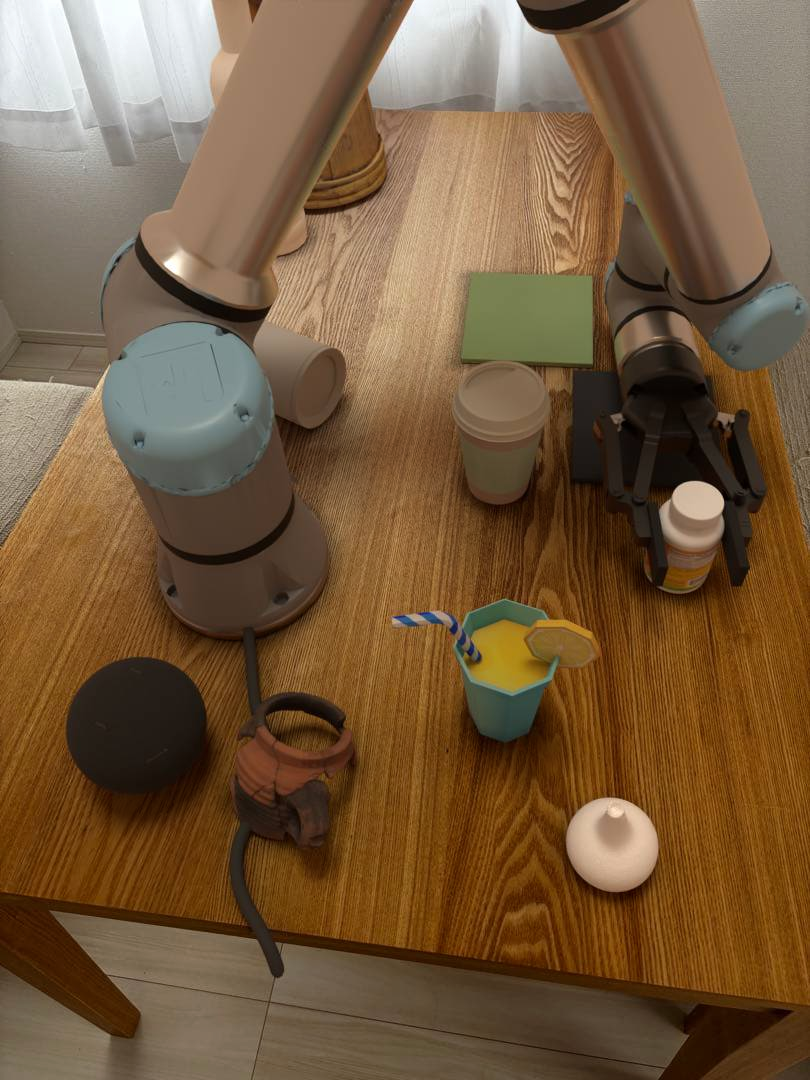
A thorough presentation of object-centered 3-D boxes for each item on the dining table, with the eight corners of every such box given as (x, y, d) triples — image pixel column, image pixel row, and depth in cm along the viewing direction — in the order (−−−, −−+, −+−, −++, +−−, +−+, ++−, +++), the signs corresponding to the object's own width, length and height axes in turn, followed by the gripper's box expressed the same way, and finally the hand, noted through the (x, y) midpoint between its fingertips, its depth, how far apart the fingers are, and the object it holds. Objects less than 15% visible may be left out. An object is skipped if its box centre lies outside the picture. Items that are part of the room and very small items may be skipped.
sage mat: (592, 368, 92) (593, 363, 91) (460, 362, 93) (460, 358, 93) (592, 280, 101) (592, 275, 100) (471, 276, 102) (471, 272, 102)
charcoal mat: (723, 490, 81) (724, 486, 80) (571, 481, 83) (572, 477, 82) (710, 379, 90) (711, 375, 89) (573, 373, 91) (573, 369, 91)
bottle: (285, 212, 112) (236, -52, 88) (320, 238, 108) (280, -31, 84) (233, 238, 110) (168, -28, 86) (268, 265, 106) (210, -5, 82)
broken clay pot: (208, 772, 68) (224, 689, 64) (318, 754, 72) (339, 677, 69) (256, 897, 59) (278, 810, 55) (379, 868, 64) (406, 786, 60)
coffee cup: (542, 450, 85) (552, 356, 76) (542, 518, 80) (552, 427, 71) (455, 447, 86) (454, 354, 76) (450, 514, 81) (447, 424, 71)
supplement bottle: (647, 539, 78) (668, 467, 70) (709, 552, 77) (736, 481, 69) (638, 587, 75) (658, 518, 67) (702, 602, 74) (730, 533, 66)
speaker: (188, 828, 65) (149, 778, 57) (70, 795, 67) (16, 742, 59) (239, 709, 70) (210, 648, 62) (129, 682, 72) (87, 619, 64)
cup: (404, 760, 67) (390, 667, 55) (404, 670, 72) (391, 566, 60) (586, 755, 66) (612, 661, 54) (574, 665, 71) (596, 560, 59)
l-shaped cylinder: (295, 308, 98) (125, 370, 94) (288, 239, 89) (99, 305, 84) (364, 428, 92) (185, 500, 87) (364, 367, 82) (164, 445, 78)
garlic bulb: (654, 903, 60) (676, 869, 53) (562, 889, 61) (573, 854, 54) (653, 813, 63) (674, 771, 57) (566, 802, 64) (577, 759, 58)
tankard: (239, 212, 113) (191, 3, 93) (279, 120, 127) (244, -80, 107) (376, 216, 111) (356, 2, 91) (401, 121, 124) (388, -82, 104)
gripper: (749, 400, 84) (807, 603, 70) (557, 402, 85) (576, 602, 71) (771, 339, 78) (839, 548, 64) (563, 343, 79) (586, 549, 65)
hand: (700, 576), depth 68 cm, fingers closed on supplement bottle, 5 cm apart
